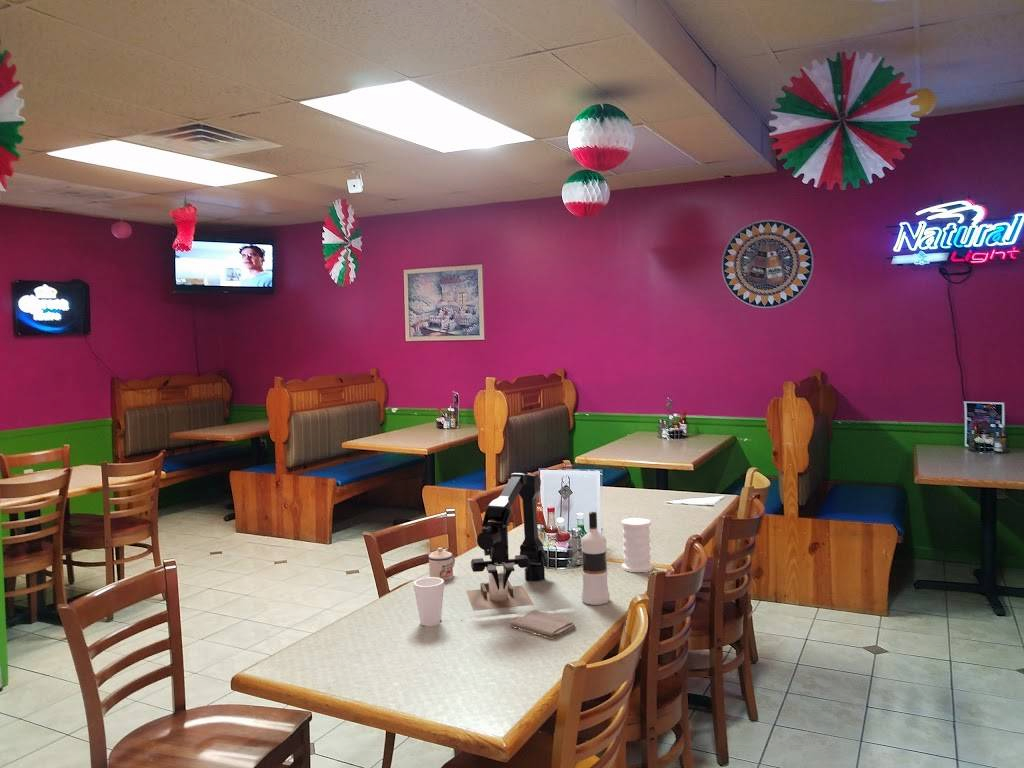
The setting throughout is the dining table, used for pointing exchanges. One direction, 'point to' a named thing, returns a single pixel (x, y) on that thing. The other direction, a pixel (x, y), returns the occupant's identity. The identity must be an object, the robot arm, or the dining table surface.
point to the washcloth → (543, 624)
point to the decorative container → (636, 545)
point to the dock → (482, 601)
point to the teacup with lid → (441, 564)
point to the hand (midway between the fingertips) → (501, 588)
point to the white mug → (494, 592)
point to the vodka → (594, 565)
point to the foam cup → (429, 599)
